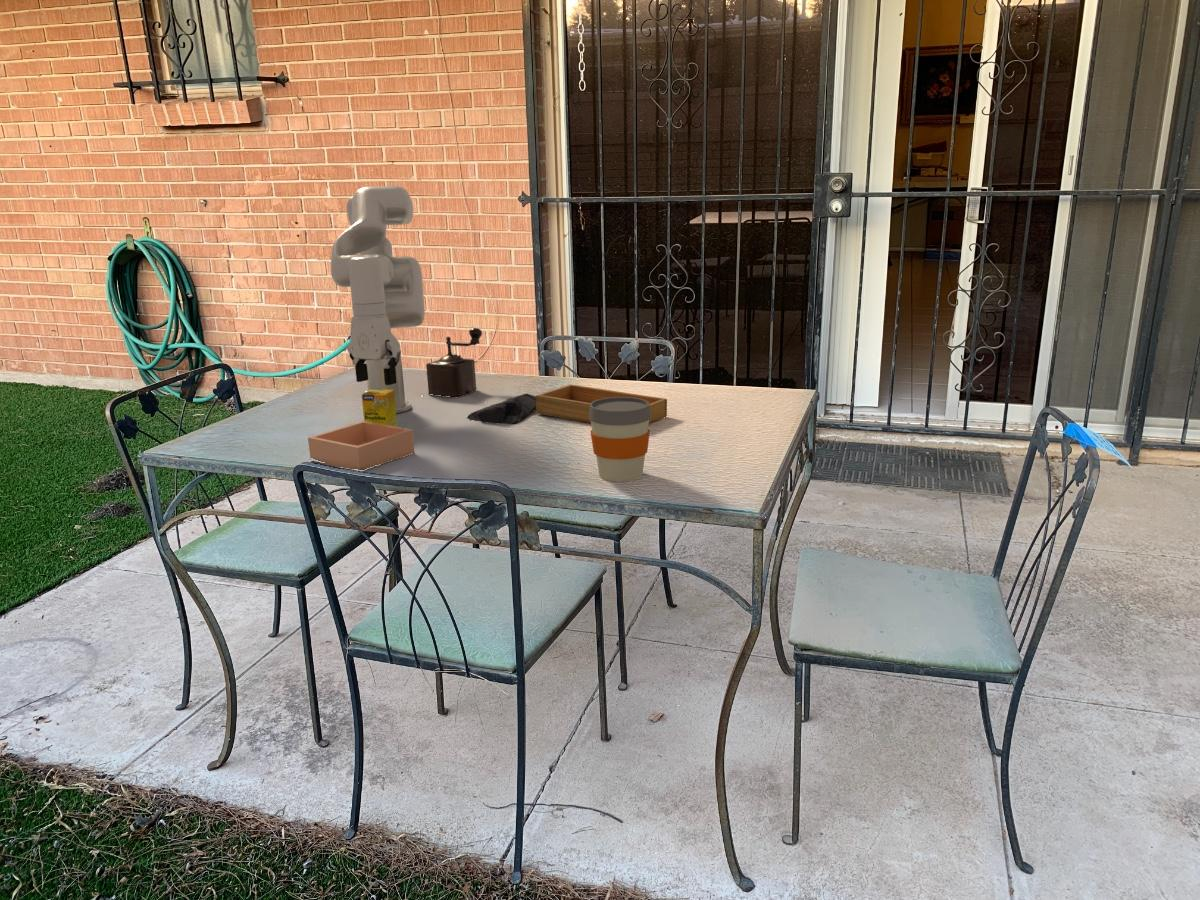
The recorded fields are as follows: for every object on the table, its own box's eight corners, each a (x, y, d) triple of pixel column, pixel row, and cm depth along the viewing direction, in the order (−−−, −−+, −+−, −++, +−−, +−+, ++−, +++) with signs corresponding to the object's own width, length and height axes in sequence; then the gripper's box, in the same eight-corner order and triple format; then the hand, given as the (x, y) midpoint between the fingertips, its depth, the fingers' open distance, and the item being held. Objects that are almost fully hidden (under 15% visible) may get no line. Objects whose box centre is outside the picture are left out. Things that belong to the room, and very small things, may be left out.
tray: (667, 418, 224) (667, 396, 222) (635, 432, 212) (634, 409, 210) (571, 404, 241) (570, 384, 239) (536, 416, 229) (535, 395, 227)
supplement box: (365, 438, 211) (360, 394, 208) (375, 431, 217) (371, 388, 213) (388, 438, 210) (384, 394, 207) (398, 432, 216) (394, 388, 212)
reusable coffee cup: (600, 463, 187) (598, 395, 183) (657, 467, 184) (657, 398, 179) (582, 482, 176) (580, 410, 172) (643, 486, 172) (642, 413, 168)
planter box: (310, 461, 194) (307, 437, 192) (365, 443, 207) (363, 420, 205) (360, 472, 185) (357, 447, 184) (414, 453, 198) (412, 429, 196)
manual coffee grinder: (459, 398, 249) (455, 335, 243) (427, 395, 253) (422, 333, 248) (488, 386, 262) (484, 327, 257) (457, 384, 266) (453, 325, 261)
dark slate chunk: (554, 407, 238) (553, 390, 237) (512, 427, 219) (511, 409, 218) (505, 402, 244) (504, 386, 243) (461, 422, 225) (460, 404, 224)
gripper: (332, 310, 206) (339, 382, 210) (383, 313, 197) (390, 388, 201) (356, 307, 212) (363, 377, 216) (407, 310, 203) (413, 382, 207)
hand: (376, 382), depth 209 cm, fingers open, 9 cm apart
